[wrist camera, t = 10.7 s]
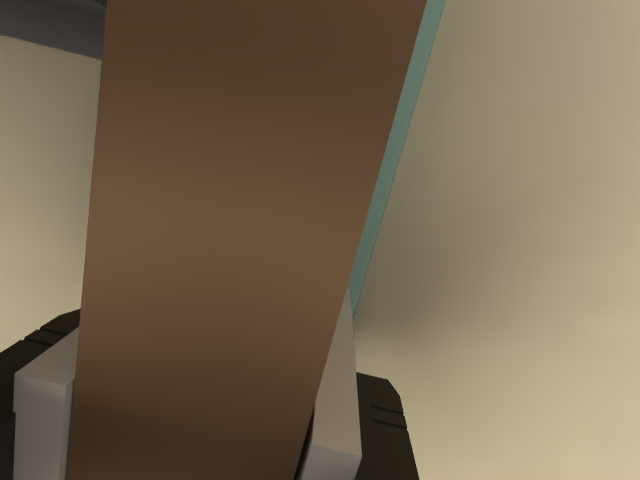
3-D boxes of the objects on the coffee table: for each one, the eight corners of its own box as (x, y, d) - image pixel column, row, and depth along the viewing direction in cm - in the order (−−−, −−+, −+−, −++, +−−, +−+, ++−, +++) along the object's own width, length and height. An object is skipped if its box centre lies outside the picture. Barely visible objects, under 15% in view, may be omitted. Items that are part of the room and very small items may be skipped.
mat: (263, -323, 9) (259, -349, 9) (516, -256, 9) (525, -278, 9) (127, 591, 17) (120, 605, 16) (262, 622, 17) (259, 637, 17)
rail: (279, -342, 7) (195, -1009, 3) (478, -289, 7) (669, -871, 3) (120, 666, 13) (31, 882, 10) (220, 689, 13) (172, 912, 10)
